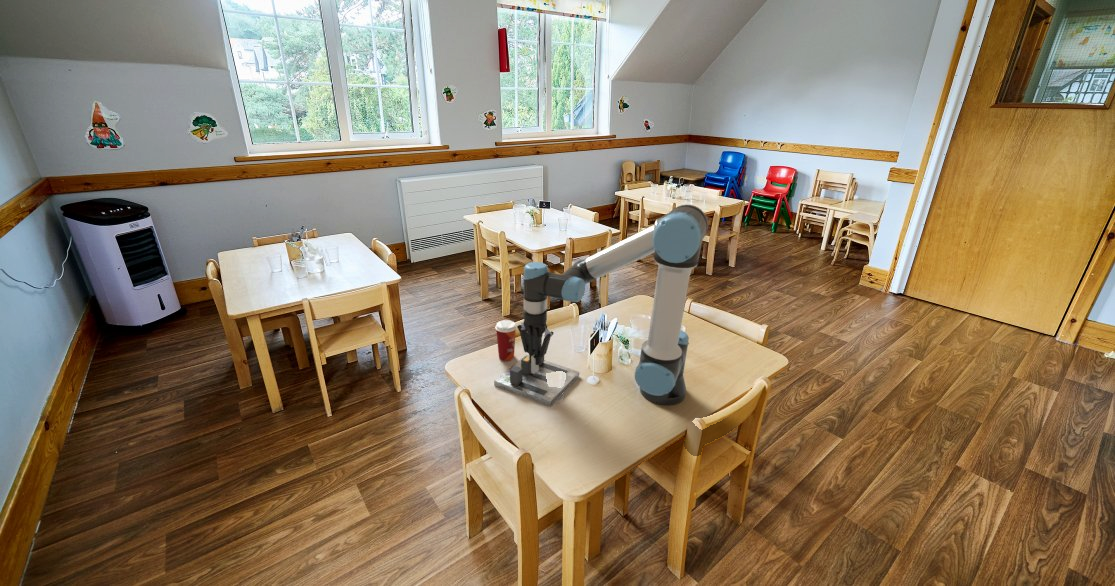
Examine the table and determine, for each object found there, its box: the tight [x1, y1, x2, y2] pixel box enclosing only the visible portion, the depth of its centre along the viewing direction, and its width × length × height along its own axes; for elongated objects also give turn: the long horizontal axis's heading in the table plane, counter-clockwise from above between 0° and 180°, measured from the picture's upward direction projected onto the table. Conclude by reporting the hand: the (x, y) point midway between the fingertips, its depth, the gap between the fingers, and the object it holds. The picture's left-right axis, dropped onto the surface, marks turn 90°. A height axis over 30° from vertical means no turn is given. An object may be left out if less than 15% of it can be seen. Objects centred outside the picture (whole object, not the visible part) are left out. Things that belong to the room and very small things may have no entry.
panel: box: [493, 353, 580, 408], centre depth 162 cm, size 22×20×2 cm
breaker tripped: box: [521, 355, 531, 375], centre depth 162 cm, size 3×3×5 cm
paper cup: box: [494, 319, 518, 362], centre depth 173 cm, size 8×8×14 cm
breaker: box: [510, 366, 523, 385], centre depth 157 cm, size 3×3×5 cm
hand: (534, 371), depth 161 cm, fingers closed
